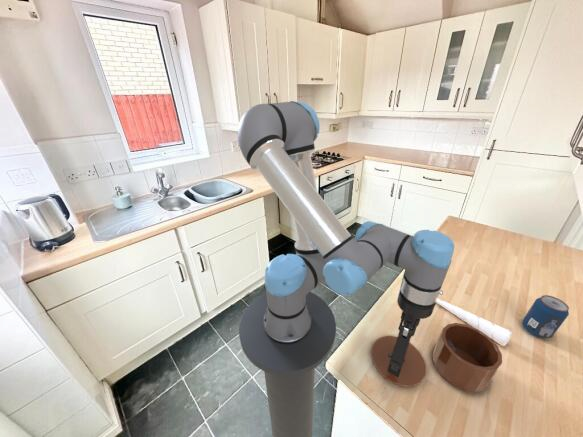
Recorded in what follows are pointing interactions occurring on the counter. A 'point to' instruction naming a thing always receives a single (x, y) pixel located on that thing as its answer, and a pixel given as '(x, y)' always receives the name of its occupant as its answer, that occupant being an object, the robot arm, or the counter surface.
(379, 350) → the crock lid
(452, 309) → the unicorn horn
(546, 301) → the soda can
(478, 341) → the crock
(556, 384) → the counter surface
